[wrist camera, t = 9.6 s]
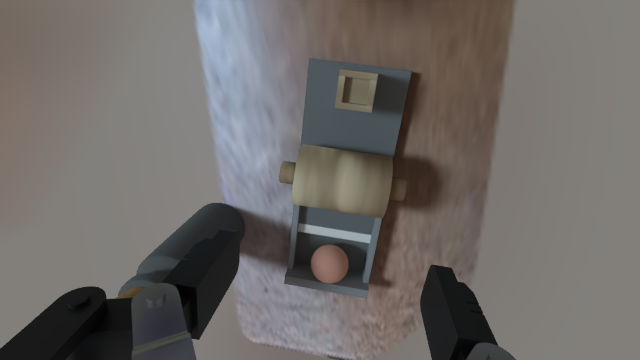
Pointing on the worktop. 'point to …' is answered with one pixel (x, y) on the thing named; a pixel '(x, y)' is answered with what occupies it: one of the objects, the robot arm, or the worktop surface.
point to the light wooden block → (356, 90)
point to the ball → (329, 264)
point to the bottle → (182, 245)
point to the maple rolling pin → (343, 180)
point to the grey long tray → (353, 135)
